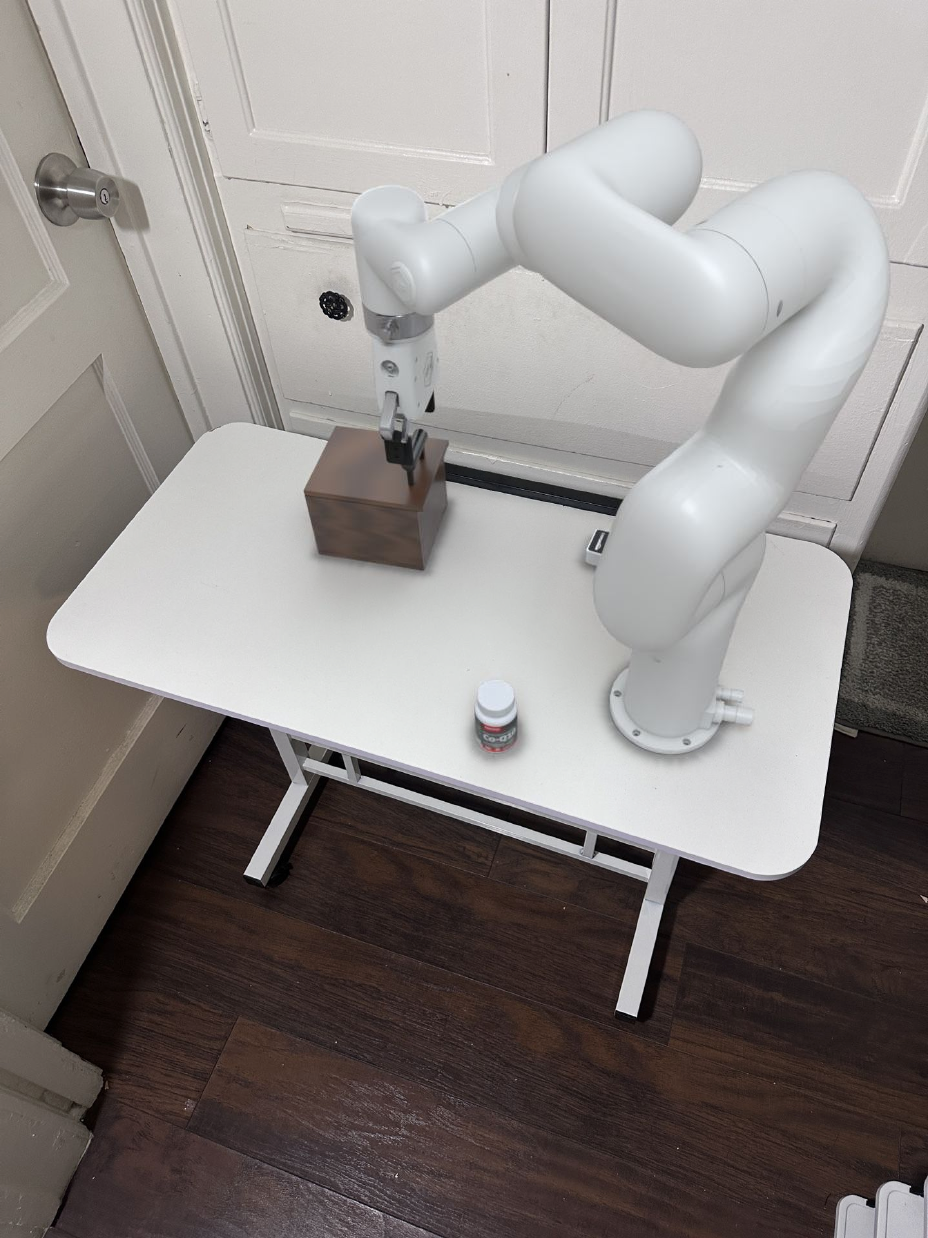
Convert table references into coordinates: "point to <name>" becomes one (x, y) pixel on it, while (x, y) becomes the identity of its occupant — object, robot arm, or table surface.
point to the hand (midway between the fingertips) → (411, 435)
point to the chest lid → (376, 470)
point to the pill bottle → (496, 716)
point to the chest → (378, 528)
